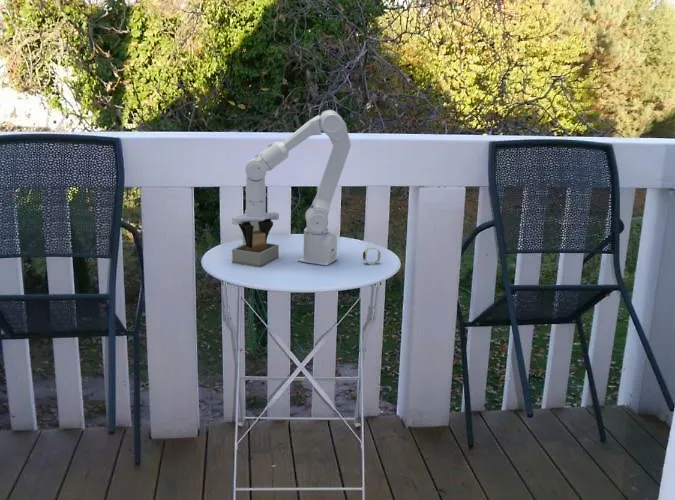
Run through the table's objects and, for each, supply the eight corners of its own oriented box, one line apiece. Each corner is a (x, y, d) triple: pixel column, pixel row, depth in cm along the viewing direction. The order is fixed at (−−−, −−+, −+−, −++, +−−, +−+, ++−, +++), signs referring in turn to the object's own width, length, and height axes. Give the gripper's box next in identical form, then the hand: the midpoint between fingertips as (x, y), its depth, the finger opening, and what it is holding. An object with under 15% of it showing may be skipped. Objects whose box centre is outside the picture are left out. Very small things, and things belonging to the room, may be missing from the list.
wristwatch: (362, 262, 216) (362, 246, 215) (378, 262, 217) (378, 246, 216) (364, 265, 213) (365, 249, 212) (381, 264, 214) (381, 248, 213)
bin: (278, 257, 218) (278, 244, 217) (260, 267, 208) (260, 253, 207) (251, 253, 222) (251, 240, 221) (232, 262, 212) (232, 249, 211)
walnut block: (265, 252, 214) (265, 233, 212) (253, 254, 212) (253, 234, 210) (258, 249, 217) (258, 230, 216) (246, 251, 215) (246, 231, 213)
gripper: (239, 205, 203) (240, 252, 207) (284, 200, 211) (284, 245, 215) (228, 200, 209) (228, 246, 212) (272, 196, 217) (272, 240, 220)
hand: (255, 245), depth 214 cm, fingers closed on walnut block, 4 cm apart
